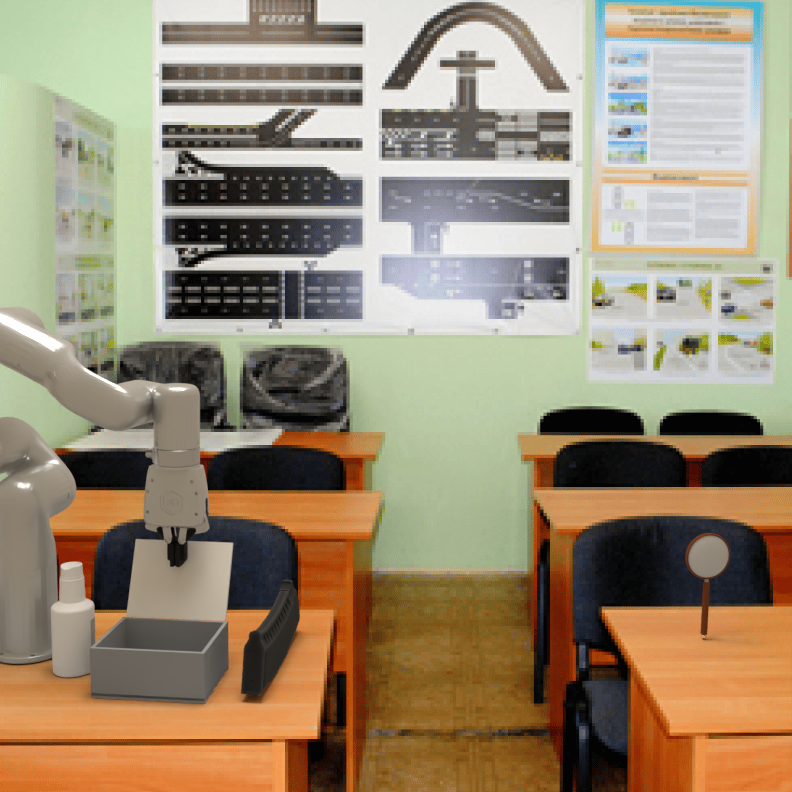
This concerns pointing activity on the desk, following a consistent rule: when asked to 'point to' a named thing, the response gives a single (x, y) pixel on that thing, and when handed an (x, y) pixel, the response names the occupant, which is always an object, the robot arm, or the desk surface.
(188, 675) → the carton
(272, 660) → the magazine
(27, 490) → the robot arm
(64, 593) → the spray bottle
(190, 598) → the carton flap
